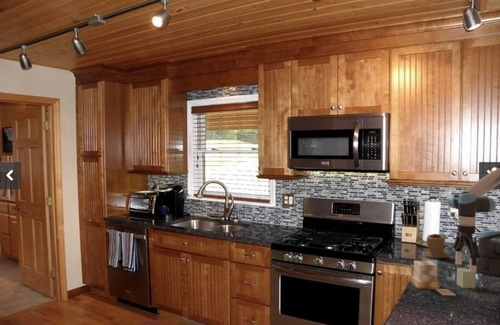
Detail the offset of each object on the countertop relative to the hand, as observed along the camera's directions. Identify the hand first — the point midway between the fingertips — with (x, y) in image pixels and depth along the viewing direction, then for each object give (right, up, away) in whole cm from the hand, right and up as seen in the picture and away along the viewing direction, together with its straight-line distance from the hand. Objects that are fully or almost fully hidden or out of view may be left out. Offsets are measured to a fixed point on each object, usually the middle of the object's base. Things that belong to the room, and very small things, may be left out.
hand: (465, 268), depth 189 cm
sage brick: (0, -9, 0) cm, 9 cm away
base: (-20, -9, +1) cm, 21 cm away
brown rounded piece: (+13, -9, +55) cm, 57 cm away
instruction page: (-15, -9, -9) cm, 19 cm away
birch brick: (-19, -6, +1) cm, 20 cm away
